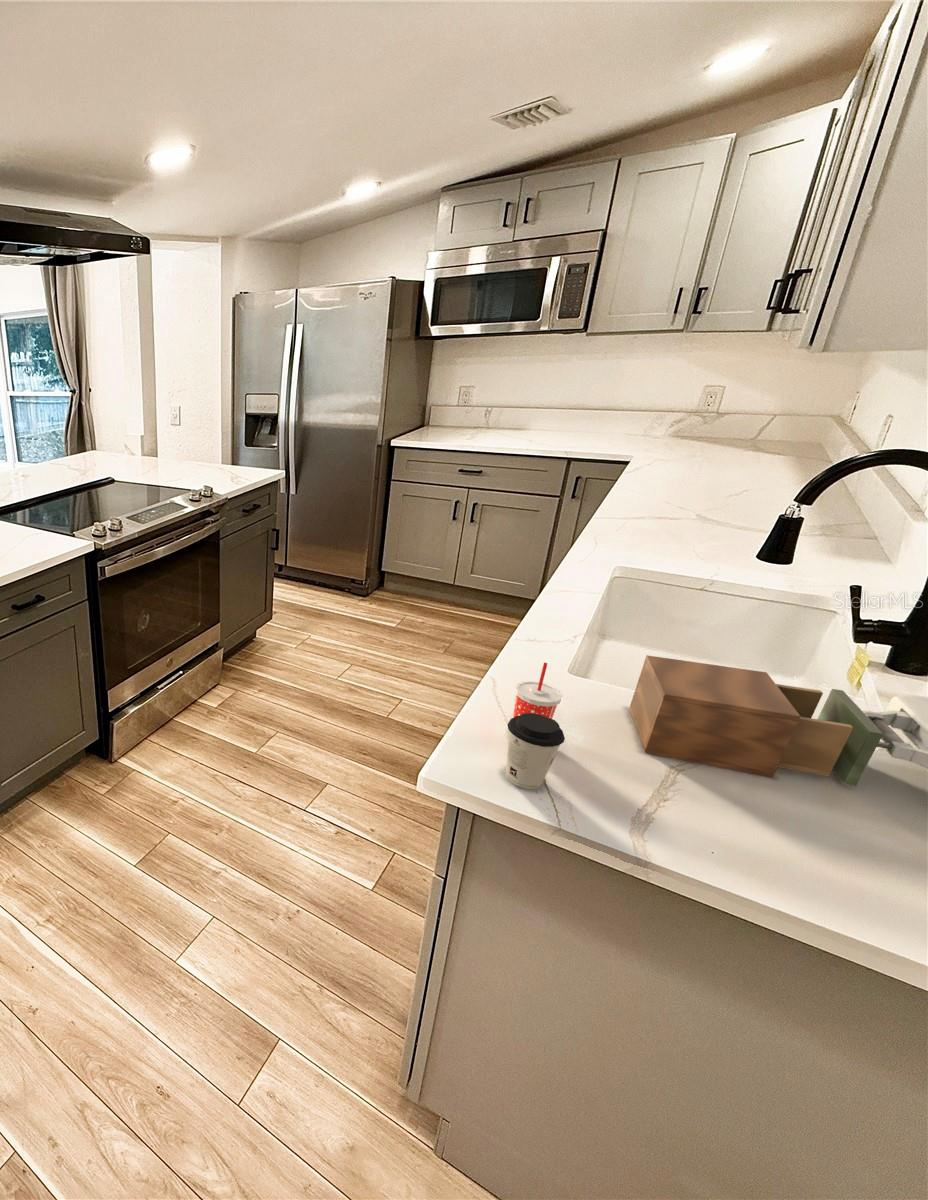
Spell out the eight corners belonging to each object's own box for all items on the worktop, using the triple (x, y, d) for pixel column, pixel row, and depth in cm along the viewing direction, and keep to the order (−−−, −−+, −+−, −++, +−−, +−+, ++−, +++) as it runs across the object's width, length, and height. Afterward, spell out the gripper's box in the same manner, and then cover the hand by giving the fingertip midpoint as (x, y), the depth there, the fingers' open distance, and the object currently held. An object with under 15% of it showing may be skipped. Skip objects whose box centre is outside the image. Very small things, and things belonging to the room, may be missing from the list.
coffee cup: (503, 791, 88) (517, 734, 84) (491, 760, 95) (503, 706, 91) (558, 797, 87) (575, 740, 83) (542, 766, 93) (557, 711, 89)
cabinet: (742, 729, 98) (766, 672, 93) (772, 777, 88) (800, 716, 83) (628, 709, 104) (646, 655, 100) (644, 752, 94) (664, 694, 90)
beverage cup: (526, 723, 102) (544, 650, 97) (558, 745, 97) (580, 669, 91) (496, 731, 101) (512, 657, 95) (527, 753, 95) (547, 677, 90)
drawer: (860, 746, 91) (886, 696, 87) (902, 795, 82) (933, 742, 78) (703, 719, 99) (721, 672, 95) (726, 761, 90) (747, 711, 86)
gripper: (1076, 831, 72) (905, 798, 78) (967, 734, 88) (833, 713, 94) (1107, 789, 69) (929, 758, 76) (989, 697, 86) (850, 678, 92)
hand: (875, 732), depth 85 cm, fingers closed on drawer, 6 cm apart
